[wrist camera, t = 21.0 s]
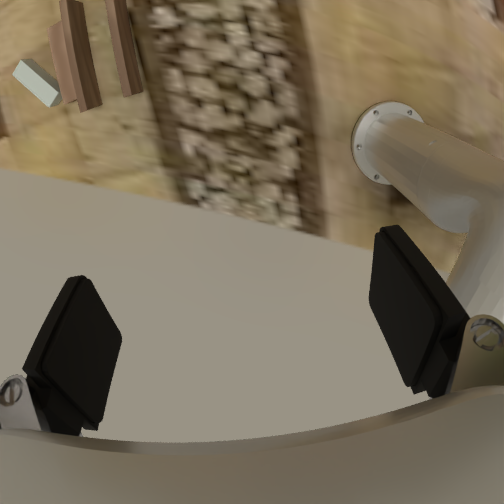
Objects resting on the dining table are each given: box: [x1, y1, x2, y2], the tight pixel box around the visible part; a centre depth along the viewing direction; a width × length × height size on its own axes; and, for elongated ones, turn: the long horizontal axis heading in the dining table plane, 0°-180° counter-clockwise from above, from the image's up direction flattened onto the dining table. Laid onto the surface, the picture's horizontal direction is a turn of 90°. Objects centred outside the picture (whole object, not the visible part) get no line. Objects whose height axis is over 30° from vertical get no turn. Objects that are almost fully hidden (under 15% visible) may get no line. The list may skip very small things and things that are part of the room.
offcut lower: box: [47, 21, 77, 104], centre depth 29 cm, size 4×12×2 cm, turn 10°
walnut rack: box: [59, 0, 143, 113], centre depth 28 cm, size 7×16×5 cm, turn 8°
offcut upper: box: [12, 59, 62, 107], centre depth 30 cm, size 3×9×2 cm
